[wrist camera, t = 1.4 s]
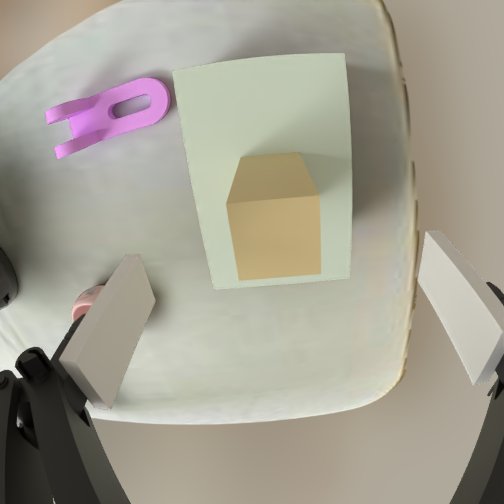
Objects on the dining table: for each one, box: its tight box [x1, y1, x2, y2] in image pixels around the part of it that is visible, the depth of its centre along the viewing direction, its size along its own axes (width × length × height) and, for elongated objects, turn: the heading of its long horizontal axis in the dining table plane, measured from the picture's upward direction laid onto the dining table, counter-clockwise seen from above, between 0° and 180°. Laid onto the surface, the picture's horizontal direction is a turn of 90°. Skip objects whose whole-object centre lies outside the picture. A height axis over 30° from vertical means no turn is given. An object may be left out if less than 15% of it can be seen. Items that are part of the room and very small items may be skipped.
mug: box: [72, 285, 104, 323], centre depth 43 cm, size 12×10×6 cm
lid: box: [172, 53, 352, 290], centre depth 21 cm, size 13×20×12 cm, turn 7°
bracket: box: [45, 78, 171, 159], centre depth 28 cm, size 13×6×7 cm, turn 100°
